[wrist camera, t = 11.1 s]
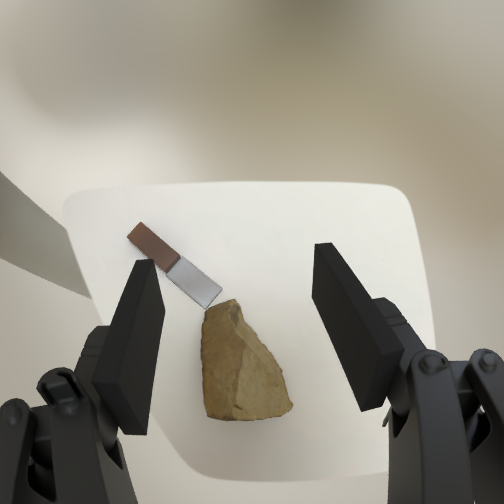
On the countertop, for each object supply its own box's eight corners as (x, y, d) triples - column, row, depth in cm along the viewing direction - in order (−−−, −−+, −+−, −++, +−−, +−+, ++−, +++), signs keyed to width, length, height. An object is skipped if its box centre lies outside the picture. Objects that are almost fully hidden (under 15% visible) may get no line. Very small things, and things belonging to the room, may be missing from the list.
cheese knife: (128, 242, 29) (124, 238, 28) (145, 224, 30) (141, 219, 29) (205, 309, 28) (204, 307, 27) (222, 289, 28) (221, 286, 27)
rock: (177, 285, 26) (158, 404, 22) (241, 259, 20) (222, 424, 15) (271, 316, 32) (262, 413, 28) (341, 302, 26) (335, 420, 21)
